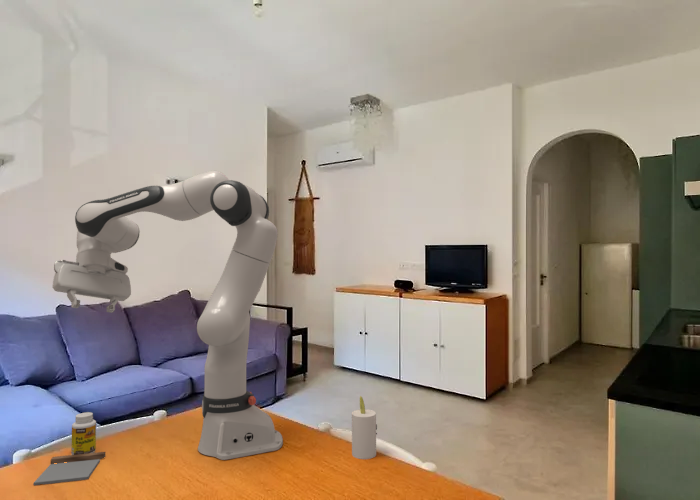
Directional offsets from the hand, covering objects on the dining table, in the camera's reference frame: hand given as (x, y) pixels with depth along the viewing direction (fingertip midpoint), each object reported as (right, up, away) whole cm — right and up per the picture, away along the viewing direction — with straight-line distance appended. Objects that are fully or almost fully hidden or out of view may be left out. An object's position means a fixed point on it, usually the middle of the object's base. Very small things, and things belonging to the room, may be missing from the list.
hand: (93, 309), depth 127 cm
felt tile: (+4, -37, -18) cm, 41 cm away
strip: (+2, -37, -11) cm, 38 cm away
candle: (+75, -37, -8) cm, 84 cm away
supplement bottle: (+1, -37, -7) cm, 38 cm away
